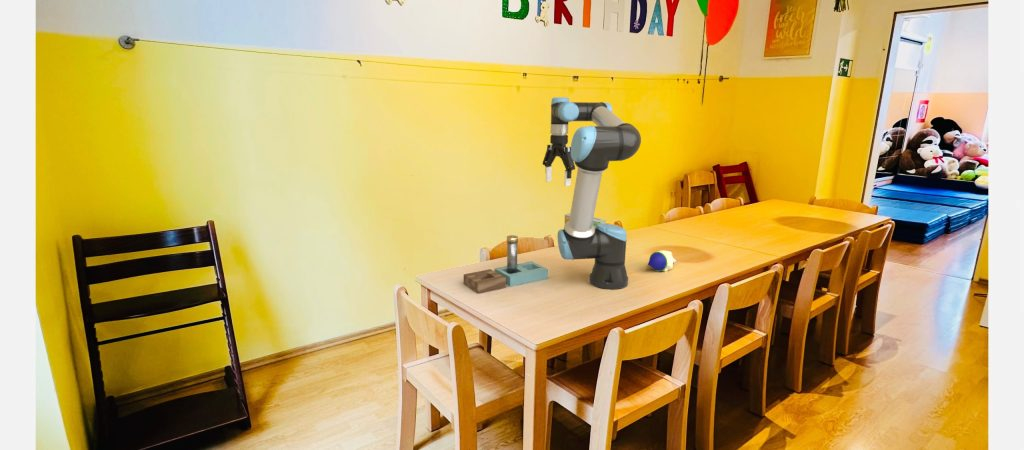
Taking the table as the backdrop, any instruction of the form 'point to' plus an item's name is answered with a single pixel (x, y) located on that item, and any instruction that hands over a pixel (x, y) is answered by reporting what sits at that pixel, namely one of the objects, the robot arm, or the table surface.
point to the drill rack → (524, 273)
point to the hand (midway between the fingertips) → (557, 183)
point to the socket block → (484, 281)
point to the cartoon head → (661, 260)
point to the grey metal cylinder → (512, 254)
